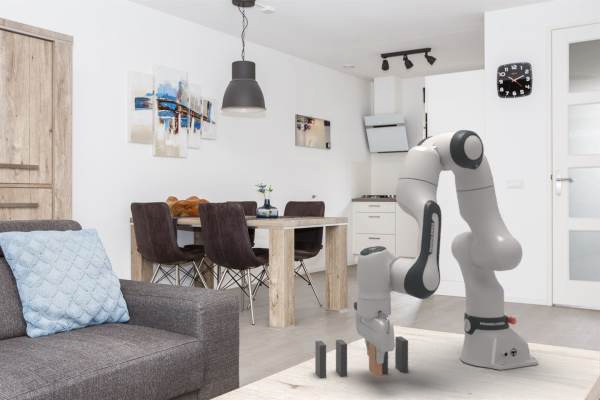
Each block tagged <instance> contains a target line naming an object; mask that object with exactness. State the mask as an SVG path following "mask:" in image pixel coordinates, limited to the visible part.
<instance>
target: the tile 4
mask: <svg viewBox="0 0 600 400" xmlns="http://www.w3.org/2000/svg"><path fill="white" fill-rule="evenodd" d="M394 339H395V348H394V350H395V353H394V354H395V356H394V359H395V360H394V362H395V365H394V366H395V369H397V371H399V372H400V373H402V374H403V373H405V374H406V373H407V374H408V372H409V340H407V339H406V338H405V337H403V336H394Z"/></svg>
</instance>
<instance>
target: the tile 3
mask: <svg viewBox="0 0 600 400" xmlns="http://www.w3.org/2000/svg"><path fill="white" fill-rule="evenodd" d="M388 374H389V352H385V354H384V362H383V363H382V375H388Z"/></svg>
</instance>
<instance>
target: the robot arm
mask: <svg viewBox="0 0 600 400" xmlns="http://www.w3.org/2000/svg"><path fill="white" fill-rule="evenodd" d="M484 152H485V149H484V144H483V141H482V139H481V137H480V136H479V135H478V133H477V132H475V131H472V130H467V129H461V130H457V131H456V130H455V131H445V132H442V133H439V134H436V135H434V136H433V135H430V136H427V137H425V138H423V139H422V140H420V141H419V142H418V143H417V145H416V146H414V147H412V148H410V149H409V150H408V152H407V153H406V156H405V158H404V161H403V164H402V166H401V169H400V173H399V177H398V180H397V185H396V190H395V200H396V203H397V205H398V206H399V208H400V209H401V210H402V211H403V212H404V213H405V214H407V215H409V216H410V217H411V218H413V219H414V220H415V221H416V222H417V223H416V224H417V225H418V237H417V238H418V239H417V249H416V256H415V258H409V257H403V256H400V255H396V254H394V253H393V252H391V251H389V250H388V249H387V247H385V246H382V245H380V246H379V245H375V246H369V247H366V248H363V249H362V250H361V251H360V252H359V253H358V258H357V266H356V282H357V285H358V292H357V299H356V300H354V301H353V310H354V311H355V313H354V314H355V315H354V316H355V327H356V331H357V334H358V335H359V336H361V338H363V339H364V343H365V346H366V355H367V356H368V357H369V342H370V343H371V344H372V345H374V346H375V347H376V351H377V354H376V356H375V361H376V362H377V363H378V364H382V363H383V362H384V354H385V352H388V353H389V352H393V351H394V350H395V331H394V330H395V329H394V324H393V322H392V320H390V319H389V317H390V316H391V315H392V303H391V302H392V299H391V298H392V297H391V296H392V295H391V292H396V293H398V294H404V295H409V296H411V297H414V298H417V299H420V300H425V299H429V298H431V296H432V295H434V294H435V293H436V292H437V290H438V289H439V287H440V284H441V283H440V282H441V270H440V253H441V252H440V251H441V250H440V249H441V238H442V237H441V234H442V209H441V207H440V205H439V204H438V201H437V194H438V186H439V180H440V175H441V172H446V171H447V172H448V171H451V172H452V173H453V175H454V184H455V192H456V198H457V199H456V200H457V203H458V210H459V215H460V217H461V218H462V219H463V220H464V222H466V223H465V224H467V225H468V227H469V229H470V230H469V231H466V232H461V233H458V234H457V235H456V236H455V237H454V238H453V240H452V242H451V244H450V245H451V246H450V247H451V249H450V251H451V253H452V256H453V258H454V259H455V260H456V263H457V264H458V265H459V269H460V272H461V276H462V278H463V282H464V289H465V312H464V318H463V327H464V338H463V340H464V341H463V344H462V345H463V346H462V349H461V354H460V357H459V359H460V361H462V362H463V363H465V364H468V365H472V366H475V367H481V368H489V369H495V370H499V371H500V370H501V371H503V370H504V371H505V370H510V369H517V368H523V367H530V366H536V365H539V360H538V359H537V358H536V357H535V356H533V355H532V354H530V353H531V352H530V347H529V344H528V341H526V339H524V338H523V336H521V335H520V334H518V333H517V332H516V331H515V330H514V329H512V328H511V327H510V324H511V325H512V326H513V325H516V324H517V319H516V318H515V317H512V316H507V315H506V314H505V290H504V288H503V286H502V285H501V283H500V282H499V280H498V279H497V276H496V272H502V271H503V272H504V271H511V270H514V269H515V268H517V267H518V266H519V264H520V263H521V261H522V259H523V248H522V245H521V243H520V242H519V241H518V240H517V239H516V238H515V237H514V236H513V234H511V232H510V231H509V230H508V227H507V226H506V224H505V222H504V220H503V217H502V214H501V212H500V209H499V205H498V201H497V200H498V199H497V195H496V190H495V188H496V187H495V182H494V177H493V174H492V170H491V166H490V162H489V161H488V158H487V156H486V155H485V154H484ZM495 271H496V272H495Z"/></svg>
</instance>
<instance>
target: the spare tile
mask: <svg viewBox="0 0 600 400" xmlns="http://www.w3.org/2000/svg"><path fill="white" fill-rule="evenodd" d="M376 354H377V351H376V347H375V346H374V345H372V344H371V343H370V342H369V356H368V371H369V372H370V373H371V374H372V375H373V376H374V377H380V376H383V374H382V364H378V363H377V362H376V361H375V356H376Z"/></svg>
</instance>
